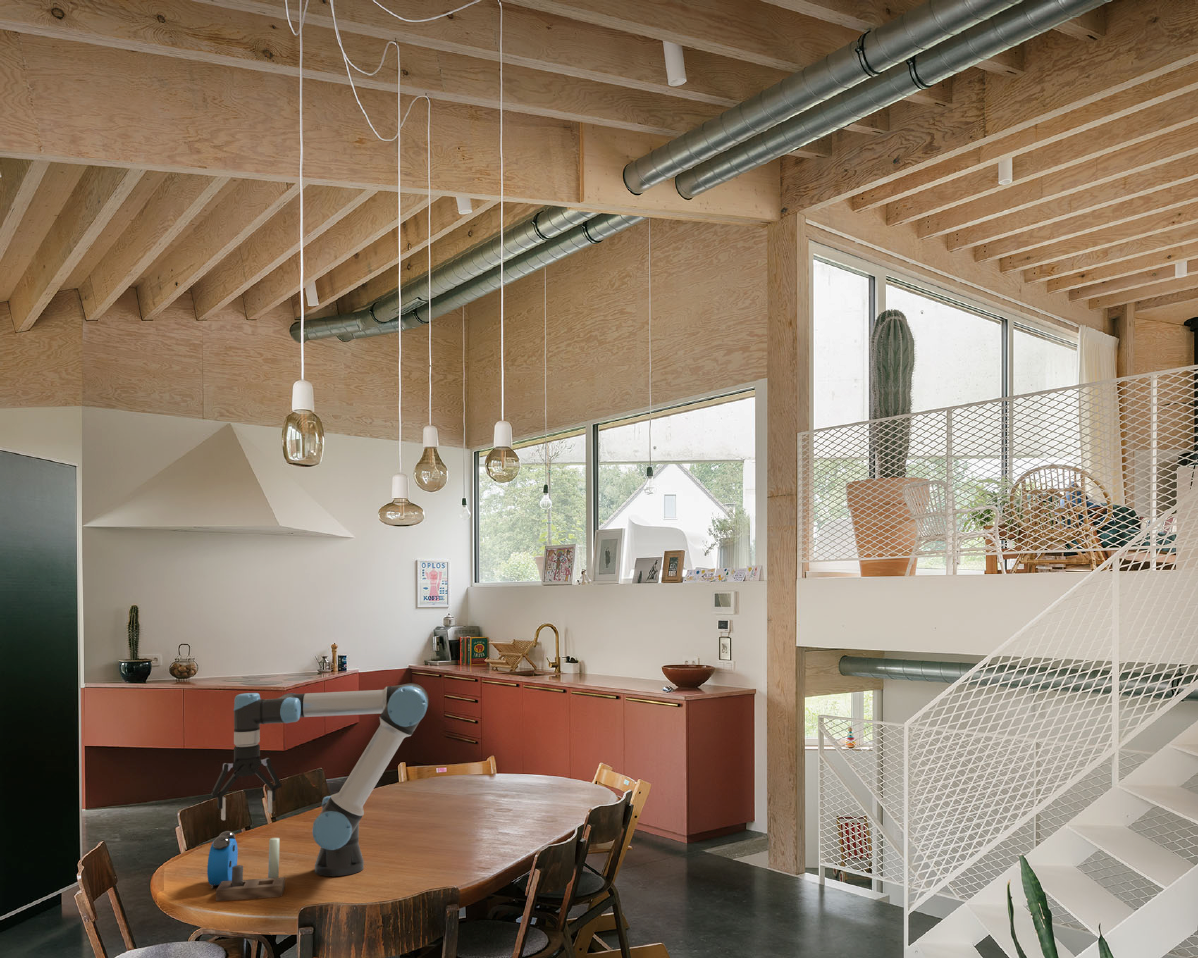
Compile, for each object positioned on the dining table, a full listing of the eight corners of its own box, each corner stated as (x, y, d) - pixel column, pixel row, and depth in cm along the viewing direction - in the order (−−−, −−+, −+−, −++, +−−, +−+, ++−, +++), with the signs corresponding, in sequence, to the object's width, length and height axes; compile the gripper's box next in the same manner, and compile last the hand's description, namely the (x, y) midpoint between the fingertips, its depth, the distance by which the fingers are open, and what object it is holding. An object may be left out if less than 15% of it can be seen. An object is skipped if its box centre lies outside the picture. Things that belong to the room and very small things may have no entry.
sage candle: (278, 881, 293) (280, 837, 295) (277, 884, 290) (279, 839, 292) (268, 881, 292) (270, 837, 294) (267, 884, 289) (268, 840, 291)
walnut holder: (284, 887, 287) (285, 859, 288) (281, 896, 278) (282, 867, 279) (221, 891, 283) (222, 863, 284) (215, 900, 274) (216, 871, 275)
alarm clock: (217, 878, 296) (219, 828, 298) (237, 877, 297) (239, 827, 299) (205, 891, 283) (208, 839, 285) (227, 890, 284) (229, 838, 286)
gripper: (285, 738, 303) (285, 807, 301) (201, 748, 290) (201, 820, 288) (291, 741, 297) (291, 811, 294) (205, 751, 284) (205, 824, 281)
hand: (246, 815), depth 291 cm, fingers open, 13 cm apart
